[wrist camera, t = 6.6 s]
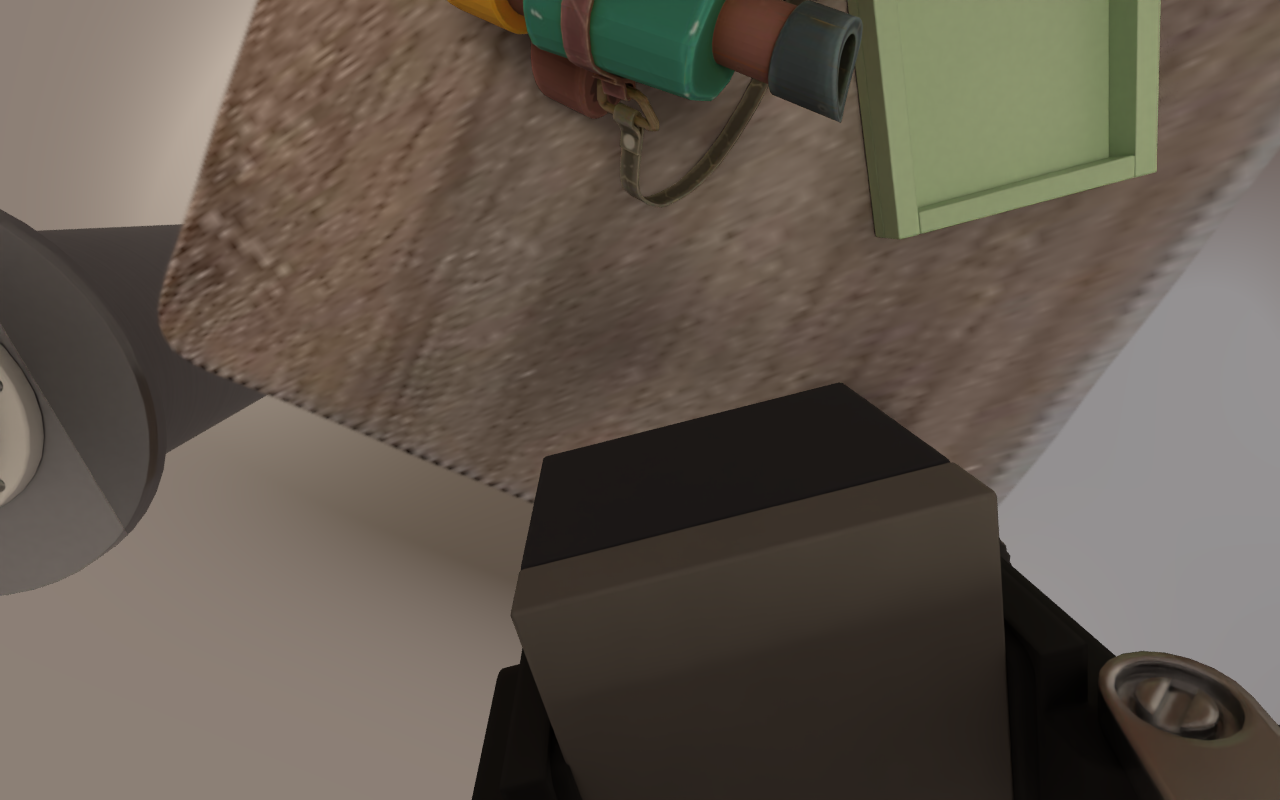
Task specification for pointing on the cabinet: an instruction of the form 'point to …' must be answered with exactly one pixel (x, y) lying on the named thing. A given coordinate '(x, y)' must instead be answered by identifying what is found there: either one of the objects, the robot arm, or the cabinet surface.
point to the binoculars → (681, 61)
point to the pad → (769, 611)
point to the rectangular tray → (1002, 104)
